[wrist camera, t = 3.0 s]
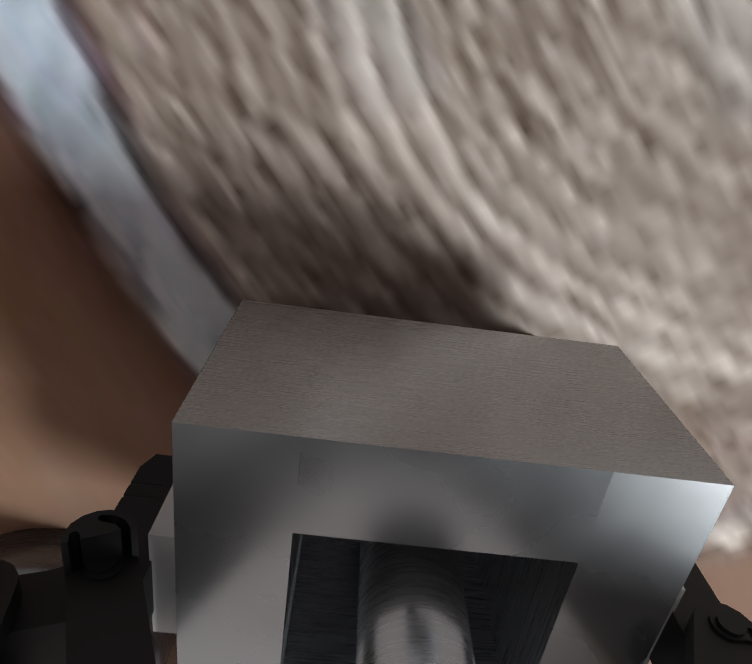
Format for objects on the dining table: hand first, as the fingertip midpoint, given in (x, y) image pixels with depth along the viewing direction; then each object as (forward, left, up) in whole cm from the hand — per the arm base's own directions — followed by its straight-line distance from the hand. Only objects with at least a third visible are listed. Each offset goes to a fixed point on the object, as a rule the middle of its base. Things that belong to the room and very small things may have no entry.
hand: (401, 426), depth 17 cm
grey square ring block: (0, 0, +2) cm, 2 cm away
